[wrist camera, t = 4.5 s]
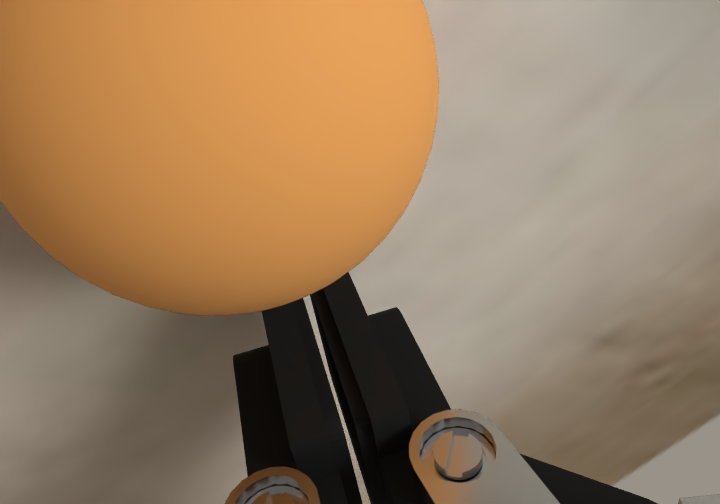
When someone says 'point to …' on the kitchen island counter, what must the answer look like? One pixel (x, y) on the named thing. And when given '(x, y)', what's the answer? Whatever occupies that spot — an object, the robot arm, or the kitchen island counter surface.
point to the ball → (213, 140)
